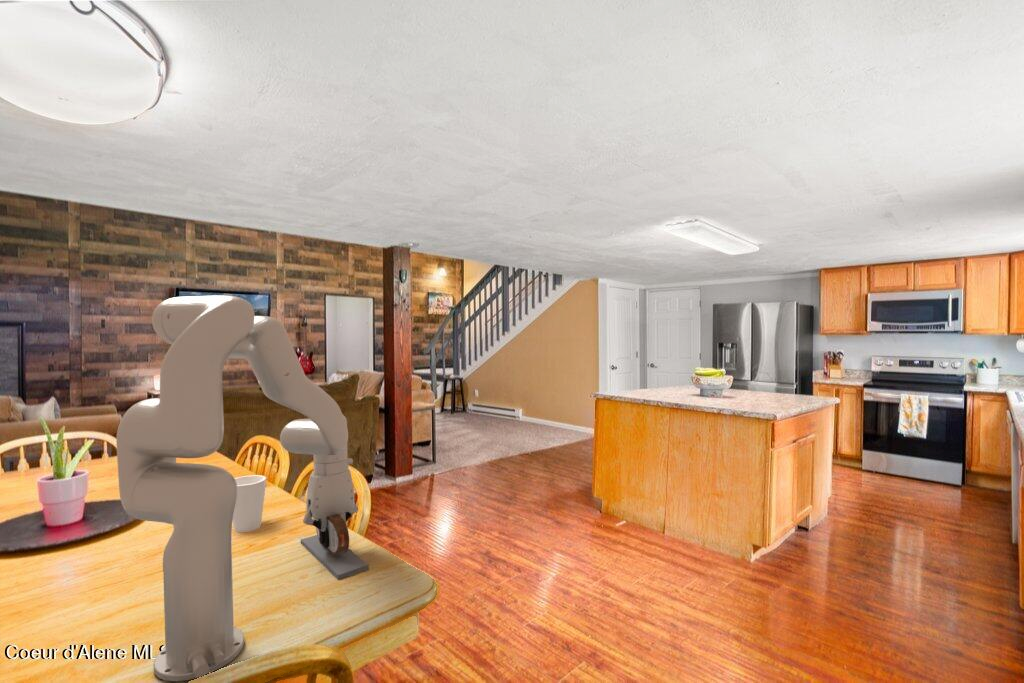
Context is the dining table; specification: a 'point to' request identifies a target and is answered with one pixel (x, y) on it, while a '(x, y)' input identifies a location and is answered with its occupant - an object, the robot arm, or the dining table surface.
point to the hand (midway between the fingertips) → (331, 543)
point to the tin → (337, 535)
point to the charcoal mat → (335, 559)
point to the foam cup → (249, 503)
